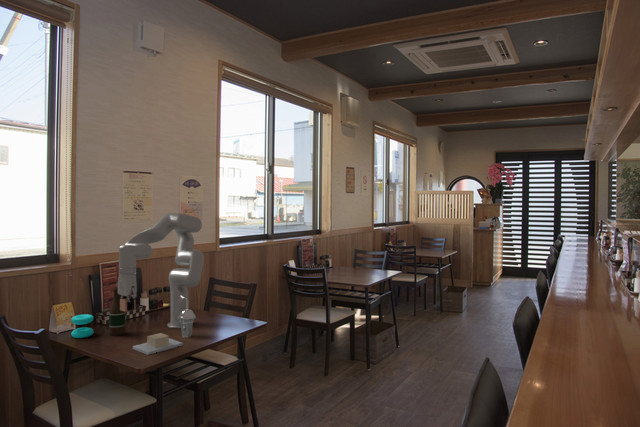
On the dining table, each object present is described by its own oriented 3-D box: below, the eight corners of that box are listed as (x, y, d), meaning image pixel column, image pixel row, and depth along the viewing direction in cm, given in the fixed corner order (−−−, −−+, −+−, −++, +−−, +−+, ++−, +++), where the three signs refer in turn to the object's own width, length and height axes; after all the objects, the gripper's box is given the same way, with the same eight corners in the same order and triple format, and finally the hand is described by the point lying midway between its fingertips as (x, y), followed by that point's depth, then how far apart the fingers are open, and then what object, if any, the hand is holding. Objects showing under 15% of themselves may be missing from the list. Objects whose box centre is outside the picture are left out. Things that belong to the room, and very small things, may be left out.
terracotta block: (130, 308, 219) (130, 297, 219) (135, 309, 215) (135, 299, 215) (119, 310, 215) (119, 299, 215) (125, 311, 212) (125, 301, 212)
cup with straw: (179, 339, 225) (179, 299, 224) (176, 334, 233) (176, 296, 232) (197, 337, 229) (197, 297, 228) (193, 332, 237) (193, 294, 236)
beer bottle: (128, 332, 236) (128, 286, 235) (117, 336, 229) (117, 289, 228) (117, 331, 238) (117, 285, 238) (105, 335, 231) (105, 288, 231)
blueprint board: (167, 340, 224) (167, 329, 224) (182, 345, 216) (182, 334, 216) (132, 348, 210) (132, 337, 210) (147, 354, 202) (147, 343, 202)
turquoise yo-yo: (88, 312, 237) (96, 316, 230) (89, 331, 237) (96, 335, 230) (68, 316, 229) (75, 319, 223) (68, 335, 230) (75, 340, 223)
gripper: (111, 270, 217) (111, 307, 218) (128, 273, 206) (129, 313, 207) (126, 268, 223) (126, 305, 224) (144, 271, 212) (144, 310, 213)
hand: (127, 308), depth 215 cm, fingers closed on terracotta block, 4 cm apart
